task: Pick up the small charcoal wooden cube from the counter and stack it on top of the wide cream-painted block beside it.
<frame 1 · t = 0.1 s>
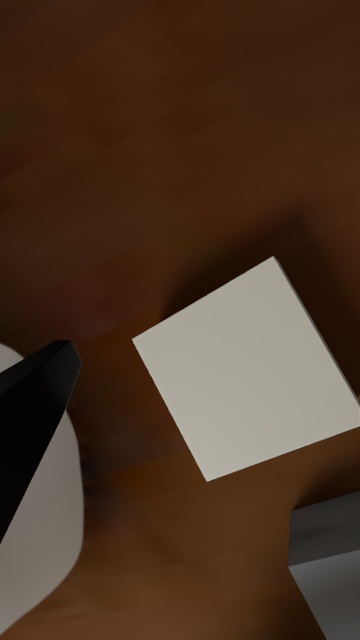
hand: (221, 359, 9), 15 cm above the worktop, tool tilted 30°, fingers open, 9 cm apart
cream base block: (248, 361, 23), on the worktop
charcoal cube: (344, 534, 23), on the worktop
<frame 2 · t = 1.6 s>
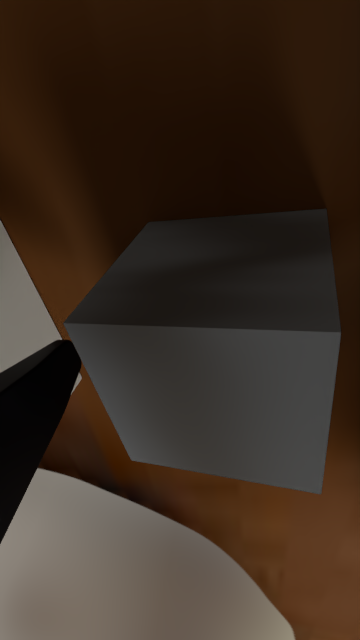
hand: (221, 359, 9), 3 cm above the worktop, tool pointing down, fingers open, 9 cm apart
charcoal cube: (237, 289, 11), on the worktop
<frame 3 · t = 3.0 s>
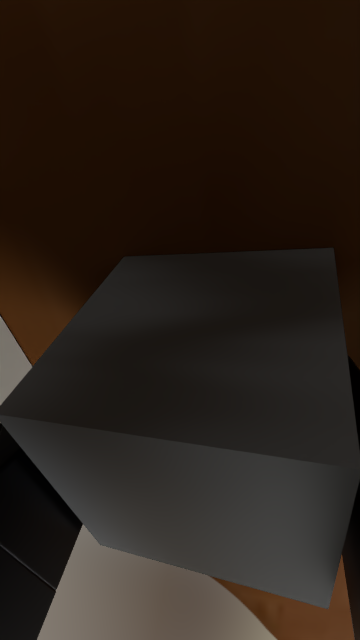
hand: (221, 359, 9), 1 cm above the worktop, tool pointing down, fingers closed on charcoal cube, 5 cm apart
charcoal cube: (228, 333, 9), on the worktop, touching gripper
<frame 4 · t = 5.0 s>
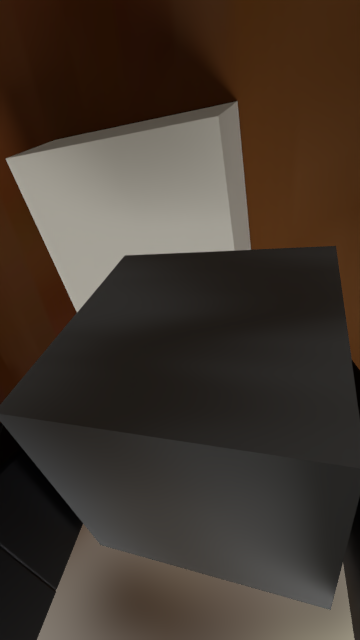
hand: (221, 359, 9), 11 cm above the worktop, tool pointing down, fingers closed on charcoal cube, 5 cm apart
cream base block: (160, 220, 20), on the worktop
charcoal cube: (229, 332, 9), point 10 cm above the worktop, touching gripper
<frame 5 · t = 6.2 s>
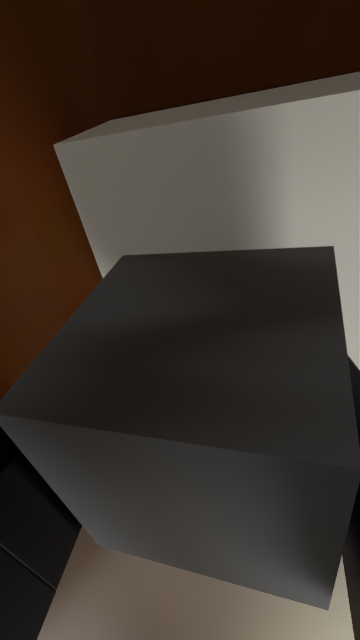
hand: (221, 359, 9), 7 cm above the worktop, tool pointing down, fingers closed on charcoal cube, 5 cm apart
cream base block: (252, 235, 14), on the worktop
charcoal cube: (228, 332, 9), point 6 cm above the worktop, touching gripper
when the fingers open (6 cm above the worktop, at t = 7.2 s): charcoal cube drops 1 cm, resting on cream base block.
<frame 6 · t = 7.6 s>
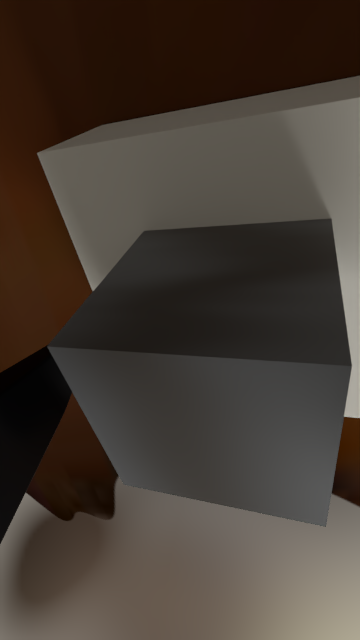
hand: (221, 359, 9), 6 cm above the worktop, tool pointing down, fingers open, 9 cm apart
cream base block: (250, 245, 14), on the worktop
charcoal cube: (237, 301, 11), point 4 cm above the worktop, touching cream base block
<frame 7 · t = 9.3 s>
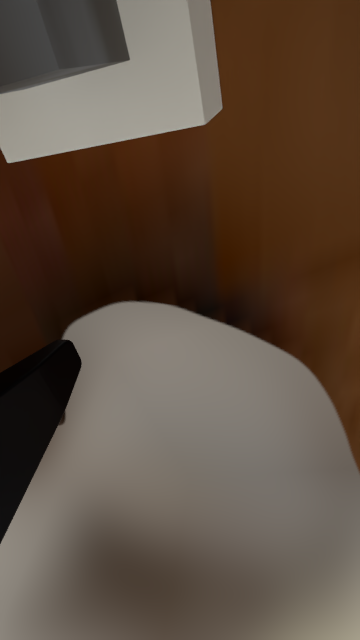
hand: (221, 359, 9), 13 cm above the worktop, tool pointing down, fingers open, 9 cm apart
cream base block: (96, 2, 15), on the worktop
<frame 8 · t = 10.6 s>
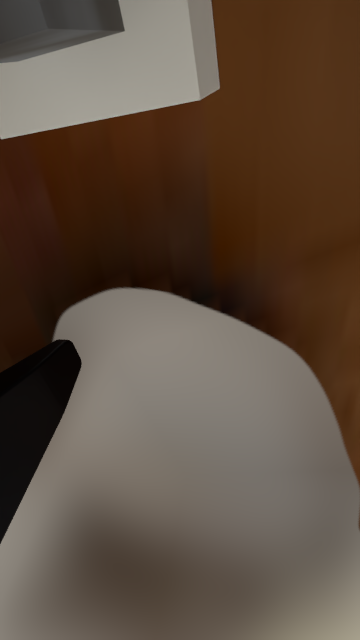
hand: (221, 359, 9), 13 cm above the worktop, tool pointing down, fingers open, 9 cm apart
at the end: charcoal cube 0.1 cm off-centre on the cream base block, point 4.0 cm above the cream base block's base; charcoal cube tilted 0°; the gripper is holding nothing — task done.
